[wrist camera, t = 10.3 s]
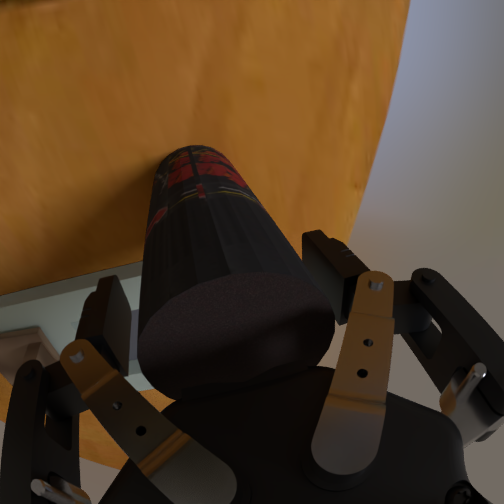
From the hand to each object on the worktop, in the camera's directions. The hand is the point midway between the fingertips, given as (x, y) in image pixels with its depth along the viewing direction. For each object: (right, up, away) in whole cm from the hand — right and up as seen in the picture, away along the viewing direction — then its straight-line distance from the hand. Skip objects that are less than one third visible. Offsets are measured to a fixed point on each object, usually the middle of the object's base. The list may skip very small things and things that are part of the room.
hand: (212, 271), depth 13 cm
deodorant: (-2, +6, +8) cm, 10 cm away
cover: (-20, -10, +10) cm, 25 cm away
